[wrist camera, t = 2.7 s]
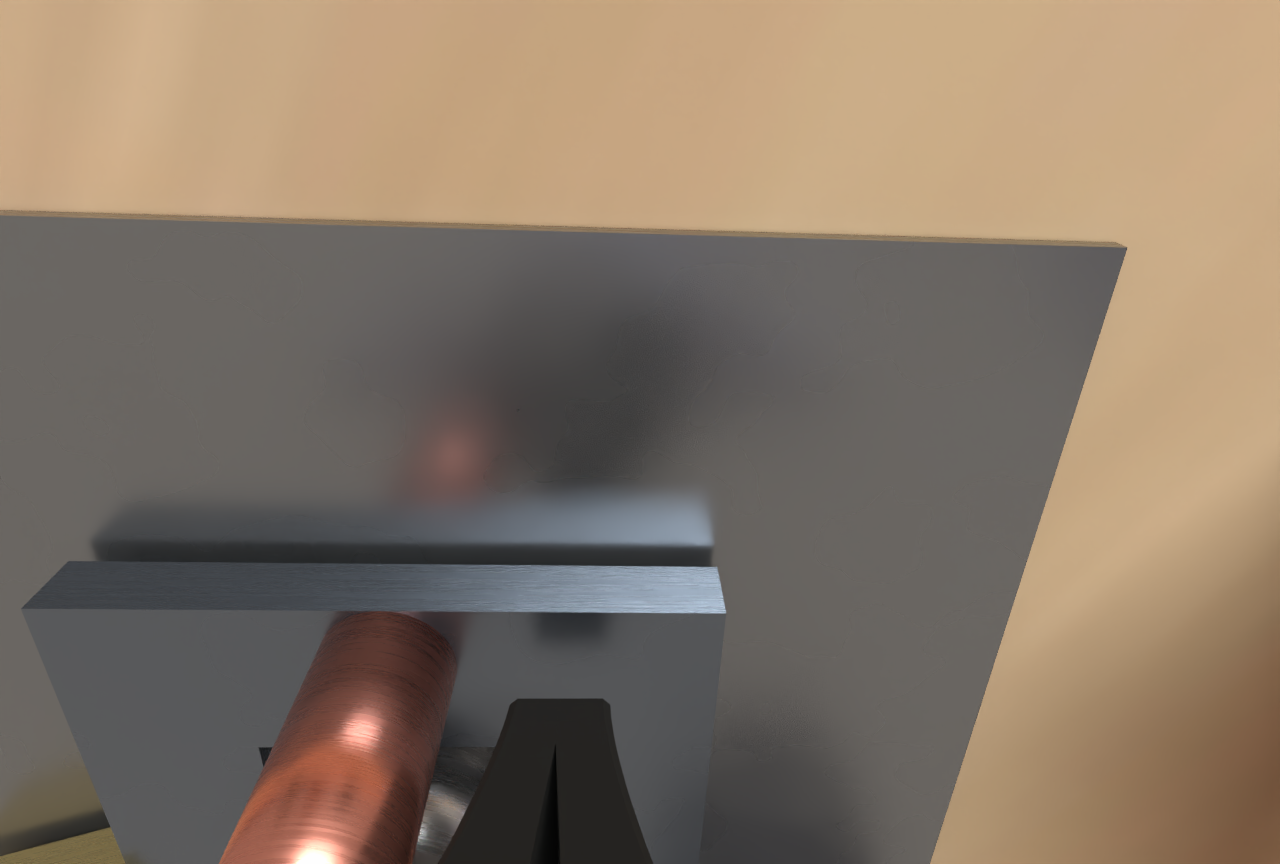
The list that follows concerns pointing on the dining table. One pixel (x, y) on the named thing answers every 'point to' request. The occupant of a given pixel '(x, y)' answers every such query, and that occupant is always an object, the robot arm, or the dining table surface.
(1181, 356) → the dining table surface
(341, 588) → the metal parts fixture
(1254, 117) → the dining table surface
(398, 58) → the dining table surface
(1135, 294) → the dining table surface
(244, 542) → the post base
